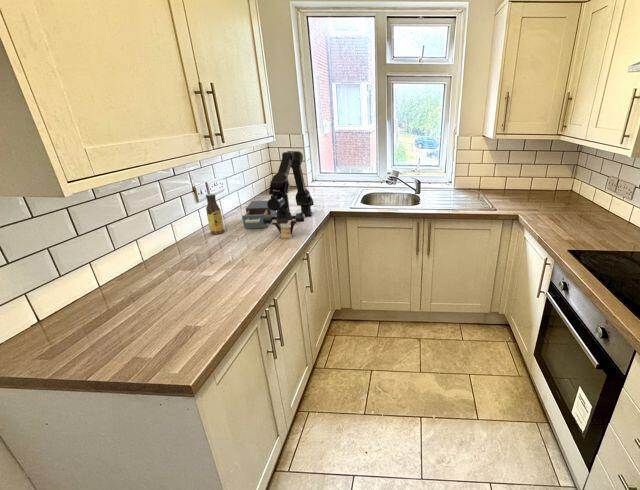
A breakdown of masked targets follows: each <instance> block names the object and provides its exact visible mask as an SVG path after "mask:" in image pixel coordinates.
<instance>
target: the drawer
mask: <svg viewBox="0 0 640 490" xmlns="http://www.w3.org/2000/svg"><path fill="white" fill-rule="evenodd" d="M265 215H270V214H269V209H254V210H248V212H247V213H246V212H245V214H243V215H242V216H241V217H242V223H243V224H242V225H243V229H257V228H258V229H261V228H268V227H269V224H264V223H263V218H264V216H265Z"/></svg>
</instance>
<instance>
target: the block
mask: <svg viewBox="0 0 640 490" xmlns="http://www.w3.org/2000/svg"><path fill="white" fill-rule="evenodd" d="M292 235H293V234H292ZM292 235H291V226H281V234H280V236H281V239H291V238H292Z"/></svg>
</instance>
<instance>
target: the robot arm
mask: <svg viewBox="0 0 640 490" xmlns="http://www.w3.org/2000/svg"><path fill="white" fill-rule="evenodd" d="M303 162H304V155H303V153H302V151H300V150H287V151H284V152H282V153H281V161H280V164H279V167H278V170H277V172H276V173H275V174H274V175H273V176H272V178H271V180H270V183H269V190H268V195H270V198H269V199H267V200H268V203H267V206H268V208H269V209H270V210H272V211H276V216H275V217H274V215H273V214H272V215H265V216H264V218H263V223H264V224H268V225H269V224H271V226H275V228H277V230H278V232H279V234H280V235H281V228H282V226H281V225H287V224H288V223H290V227H291V235H293V232H294V227H295V225H296V224H298V223H304V222H305V221H306V220H305V219H306V217H312V216H313V211H312V206H314V205H315V204H314V203H315V202H314V198H313V196H312V195H311V193H310V191H309V190H308V189H307V187H306V183H305V179H304V174H303V170H302V169H303V168H302V164H303ZM291 169H292V175H293V178H294V182H295V186H296V190H297V192H296V193H295V203H296V206H297V207H298V206H299V207H300V212H299V213H298V212H296V213H295V215H293V214H292V212H291V209H290V202H289V201H290V200H289V195H288V193H289V191H290V187H291V186H290V185H291V183H290V181H289V174H290V171H291Z"/></svg>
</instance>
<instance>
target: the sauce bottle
mask: <svg viewBox="0 0 640 490" xmlns="http://www.w3.org/2000/svg"><path fill="white" fill-rule="evenodd" d="M216 197H217V196H216V194H215V193H206V194H205V198H206V202H207V204H206V207H205V211H206V217H207V221H208V227H209V231H210V234H212V235H219V234H223V233H224V232H225V226H224V220H223V214H222V210H221V208H220V206H219V204H218V203H217V199H216Z"/></svg>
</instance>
